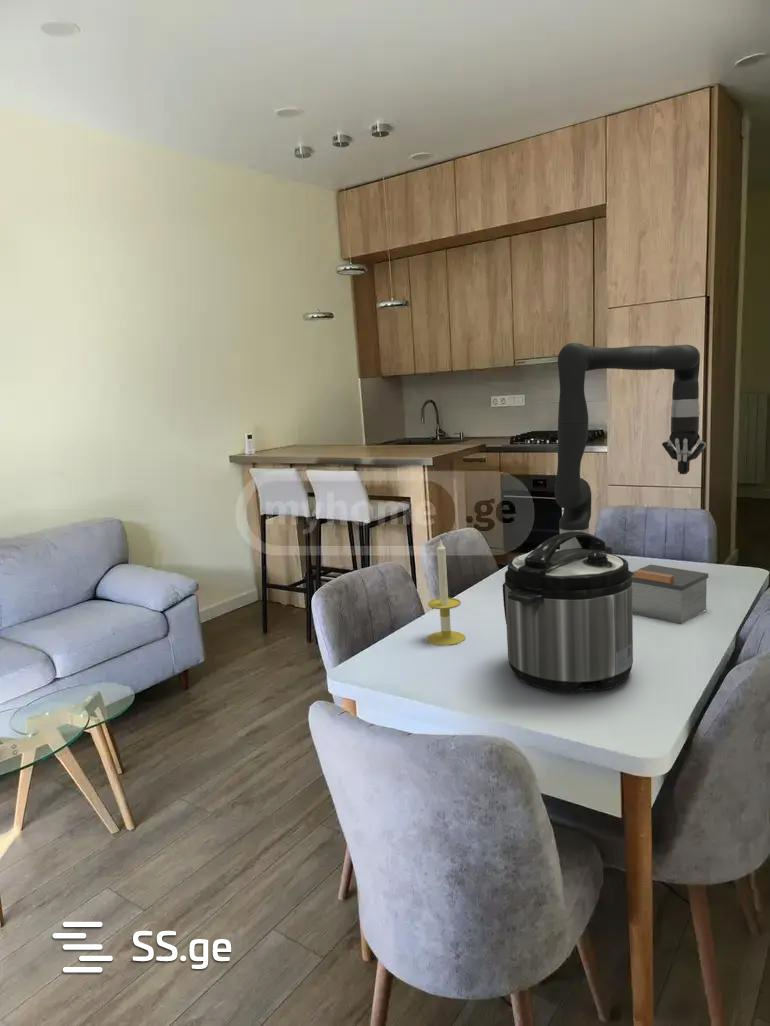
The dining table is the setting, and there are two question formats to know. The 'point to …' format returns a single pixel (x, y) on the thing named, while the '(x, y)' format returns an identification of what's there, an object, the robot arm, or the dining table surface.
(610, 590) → the pressure cooker
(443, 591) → the candle
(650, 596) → the grey metal box
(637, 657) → the dining table surface
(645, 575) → the lid
